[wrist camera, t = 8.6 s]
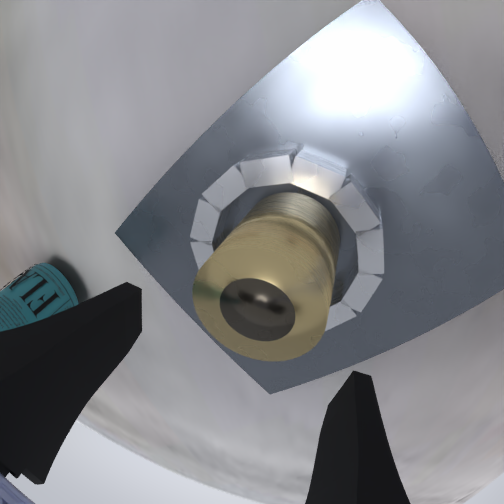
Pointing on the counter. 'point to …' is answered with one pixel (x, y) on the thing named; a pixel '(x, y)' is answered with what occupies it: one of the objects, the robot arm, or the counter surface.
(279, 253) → the brass bushing
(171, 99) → the counter surface
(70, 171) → the counter surface
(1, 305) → the beverage bottle
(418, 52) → the jig plate
